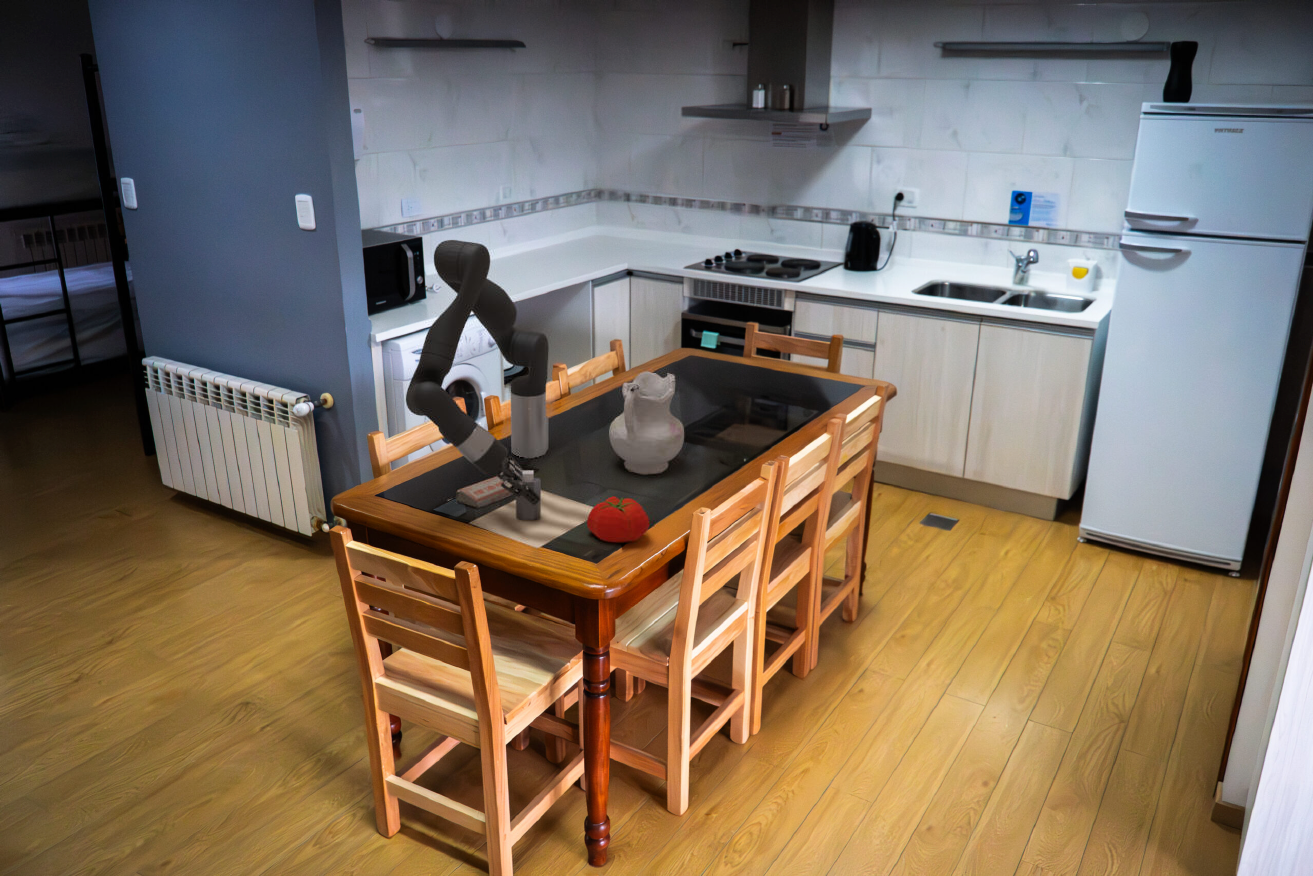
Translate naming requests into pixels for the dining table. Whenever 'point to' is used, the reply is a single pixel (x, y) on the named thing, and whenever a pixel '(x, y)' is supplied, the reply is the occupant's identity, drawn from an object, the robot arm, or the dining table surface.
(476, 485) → the packaged product
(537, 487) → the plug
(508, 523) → the cloth
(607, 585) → the dining table surface
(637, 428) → the ceramic pitcher
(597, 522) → the tomato
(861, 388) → the dining table surface
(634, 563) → the dining table surface
